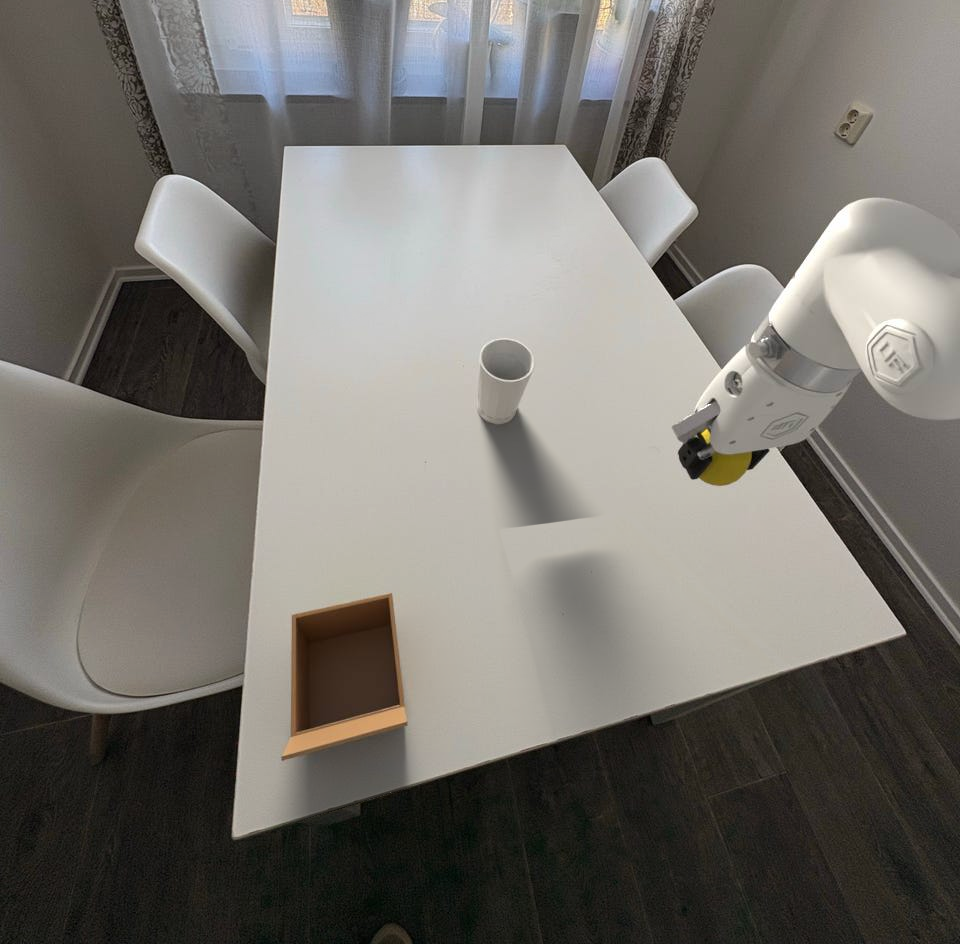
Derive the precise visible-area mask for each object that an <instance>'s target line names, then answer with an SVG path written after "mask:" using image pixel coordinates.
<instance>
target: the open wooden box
mask: <svg viewBox="0 0 960 944" xmlns="http://www.w3.org/2000/svg"><path fill="white" fill-rule="evenodd" d="M393 597H394V596H393V593H392V592H388V593H384V594H380V595H376V596H375V595H374V596H371V597H366V598H362V599H356V600H352V601H348V602H343V603H339V604H334V605H329V606H324V607H320V608H316V609H312V610H307V611H302V612H298V613H293V614H291V653H290V655H291V658H290V659H291V662H290V663H291V665H290V670H291V671H290V685H291V686H290V737H293V736H297V735H301V734H304V733H308V732H312V731H315V730H319V729H323V728H326V727H330V726H334V725H337V724H341V723H345V722H349V721H352V720H356V719H360V718H363V717H367V716H371V715H374V714H378V713H382V712H385V711H389V710H393V709H396V708H400V707H405V708H406V705H405V696H404V687H403V678H402V668H401V660H400V651H399V643H398V633H397V624H396V616H395V607H394V598H393Z"/></svg>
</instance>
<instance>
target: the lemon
mask: <svg viewBox="0 0 960 944" xmlns="http://www.w3.org/2000/svg"><path fill="white" fill-rule="evenodd" d="M702 435H703V437H704V439H705V441H706V442H707V444H708V443H709V442H710V433H709V431H708V429H706V430H705V431H704V432H703V433H702ZM711 456H712V459H713V461H712V462H711V463H710V464H709V466H708V467H707V468H706V469H705V471H704V472H703V473H702V474H701V475H700V477H699V478H698V479H699V480H701V481H702V482H704V483H705V484H708V485H710V486H716V487H723V486H728V485H731V484H734V483H735V482H738V481H739V480H740V479H741V478H742V477H743V476H744V475H745V474H746V473H747V471H748V470H747V469H748V466H749V464H750V462H751V457H752V451H751V452H745V453H738V454H721V453H718V452H715V453H714V454H712V455H711Z"/></svg>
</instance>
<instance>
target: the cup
mask: <svg viewBox="0 0 960 944" xmlns="http://www.w3.org/2000/svg"><path fill="white" fill-rule="evenodd" d="M535 366H536V361H535V356H534V354H533V352H532V350H531V349H530V348H529V347H527V345H526V344H524V343H523V342H521V341H518V340H516V339H512V338H504V337H503V338H497V339H493V340H490V341H489V342H487V343H486V344H485V345H484V346H483V347H482V348H481V350H480V352H479V360H478V387H477V388H478V389H477V402H476V409H477V413H478V415H479V416H480V417H481V418H482V419H483V420H484V421H486V422H488V423H490V424H493V425H503V424H506V423H509V422H510V421H512V420H513V419H514V417H516V413H517V410H518V407H519V405H520V402H521V399H522V398H523V396H524V393H525V390H526V388H527V386H528V384H529V381H530V379H531V376H532V374H533V371H534V370H535Z"/></svg>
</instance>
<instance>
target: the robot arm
mask: <svg viewBox="0 0 960 944" xmlns="http://www.w3.org/2000/svg"><path fill="white" fill-rule="evenodd" d="M959 270H960V236H959V235H958V233H957V232H956V231H955V230H954V229H953V228H952V226H950V225H949V224H948V223H947V222H945V221H943V220H942V219H941V218H939V217H938V216H936V215H934V214H932V213H930V212H928V211H926V210H925V209H923V208H920V207H918V206H916V205H912V204H910V203H907V202H904V201H901V200H896V199H892V198H887V197H886V198H885V197H868V198H862V199H858V200H855V201H853V202H850V203H849V204H846V205H845V206H844V207H843V208H842V209H841V210H839V211H838V212H837V213H836V215H835V216H834V217H833V218H832V220H831V221H830V222H829V224H828V225H827V227H826V228H825V230H824V231H823V232H822V234H821V236H820V237H819V239H818V240H817V241H816V243H815V244H814V246H813V247H812V249H811V250H810V252H809V253H808V254H807V256H806V257H805V258H804V260H803V262H802V263H801V265H800V266H799V267H798V269H797V270H796V271H795V273H794V275H793V276H792V278H791V279H790V281H789V282H788V283H787V285H786V287H785V288H784V289H783V291H782V292H781V294H780V295H779V296H778V298H777V299H776V301H775V302H774V304H773V305H772V307H771V308H770V310H769V311H768V313H767V314H766V315H765V316H764V318H763V320H762V321H761V322H760V324H759V326H758V327H757V328H756V330H755V331H754V333H753V334H752V336H751V338H750V342H749V343H747V344H745V345H744V346H743V347H742V348H741V349H740V350H738V352H737V353H736V354H735V355H734V356H733V357H732V358H731V359H730V360H729V361H728V362H727V364H726V365H725V366H724V367H722V368H721V370H720V372H719V373H717V375H716V376H715V378H714V379H712V381H711V382H710V384H709V385H708V386H707V388H706V389H705V390H704V392H703V393H702V395H701V396H700V398H699V400H698V401H697V404H696V405H695V408H694V411H693V413H692V414H690V415H689V416H686V417H684V418H683V419H681V420H680V421H678V422H676V423H675V424H673V425H672V426H671V429H672V431H673V434H674V435H675V437H676V439H677V440H678V441H679V442H681V443H682V445H681V446H680V448H679V449H678V451H677V456H678V460H679V463H680V464H681V466H682V468H683V469H684V470H686V473H687V475H688V477H689V478H690V479H691V480H692V481H694V480H698V479H699V477H700V475H701V474H702V473H703V472H704V471H705V469H706V468H707V467H708V466H709V464H710V463H711V462H712V461H713V459H712V456H711V455H712V454H714V453H715V452H718V453H721V454H738V453H745V452H751V451H752V457H751V462H750V464H749V466H748V469H747V471H751V470H754V468H755V467H756V466H758V464H759V463H760V462H761V461H762V460H763V459H764V458H765V457H766V456H767V455H768V453H770V451H771V450H770V449H775V448H779V447H786V446H790V445H791V446H792V445H795V444H799V443H800V442H803V441H805V440H806V439H807V438H809V437H810V436H811V434H813V433H814V431H815V430H816V429H817V428H818V427H819V426H820V425H821V424H822V423H823V421H825V419H826V418H827V417H828V415H830V413H832V411H833V410H834V408H835V407H836V406H837V405H838V404H839V402H840V401H841V400H842V398H843V396H844V395H845V394H846V392H847V391H848V389H849V388H850V386H851V384H852V382H853V380H854V379H855V378H856V377H857V376H858V375H859V374H861V372H862V373H863V374H864V376H865V377H866V379H867V380H868V382H869V383H870V385H871V386H872V388H873V389H874V390H875V391H876V393H877V394H878V395H879V396H880V397H881V398H882V399H884V400H885V402H886V403H888V404H889V405H890V406H892V407H894V408H895V409H896V410H899V411H900V412H902V413H904V414H906V415H909V416H911V417H915V418H919V419H923V420H930V421H950V420H960V278H959V277H956V276H955V275H956V273H958V271H959ZM706 429H708V431H709V433H710V442H709V443H708V444H707V442H706V441H705V439H704V437H703V435H702V433H703V432H704V431H705V430H706Z"/></svg>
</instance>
